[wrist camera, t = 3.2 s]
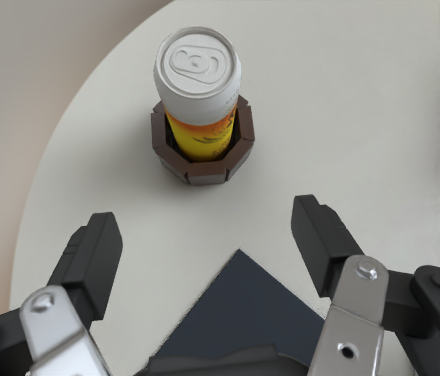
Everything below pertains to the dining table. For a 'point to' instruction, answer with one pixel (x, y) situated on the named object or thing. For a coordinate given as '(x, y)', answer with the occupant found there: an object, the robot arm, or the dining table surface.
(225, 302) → the mat
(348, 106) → the dining table surface
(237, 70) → the beer can
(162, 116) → the segmented ring
